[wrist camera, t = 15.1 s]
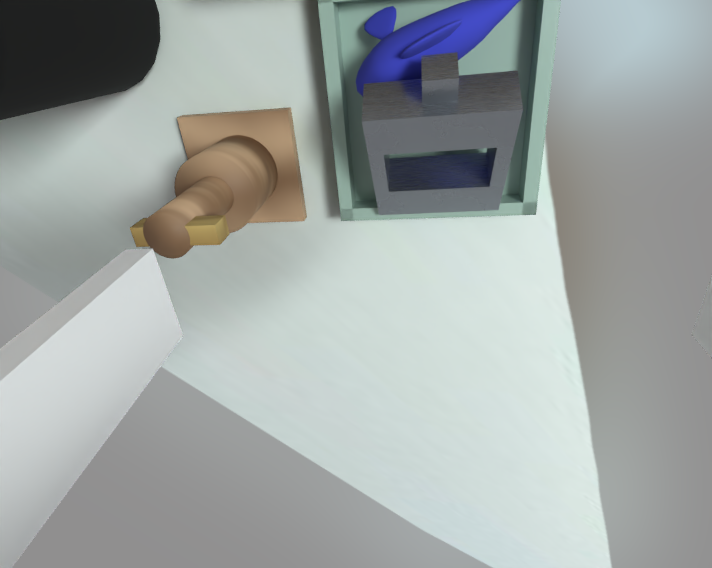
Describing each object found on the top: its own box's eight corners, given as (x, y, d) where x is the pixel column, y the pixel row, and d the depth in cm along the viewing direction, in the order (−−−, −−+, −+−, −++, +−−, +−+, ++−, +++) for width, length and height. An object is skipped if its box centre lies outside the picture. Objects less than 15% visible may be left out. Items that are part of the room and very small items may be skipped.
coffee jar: (51, -120, 30) (-346, -269, 14) (192, -4, 32) (-20, -26, 17) (11, 28, 35) (-316, 35, 19) (135, 119, 37) (-67, 189, 22)
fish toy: (387, 140, 34) (371, 147, 28) (340, 41, 32) (312, 24, 26) (594, 29, 29) (632, 6, 23) (552, -95, 27) (580, -156, 21)
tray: (323, -13, 31) (315, -15, 29) (555, -39, 29) (566, -44, 27) (345, 209, 39) (341, 220, 37) (528, 203, 37) (535, 214, 34)
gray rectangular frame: (380, 183, 37) (379, 215, 35) (360, 61, 26) (357, 100, 25) (495, 177, 35) (498, 210, 34) (522, 45, 25) (528, 86, 24)
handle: (182, 115, 36) (65, 162, 24) (290, 107, 35) (222, 153, 23) (209, 219, 41) (121, 303, 29) (306, 216, 40) (256, 302, 28)
